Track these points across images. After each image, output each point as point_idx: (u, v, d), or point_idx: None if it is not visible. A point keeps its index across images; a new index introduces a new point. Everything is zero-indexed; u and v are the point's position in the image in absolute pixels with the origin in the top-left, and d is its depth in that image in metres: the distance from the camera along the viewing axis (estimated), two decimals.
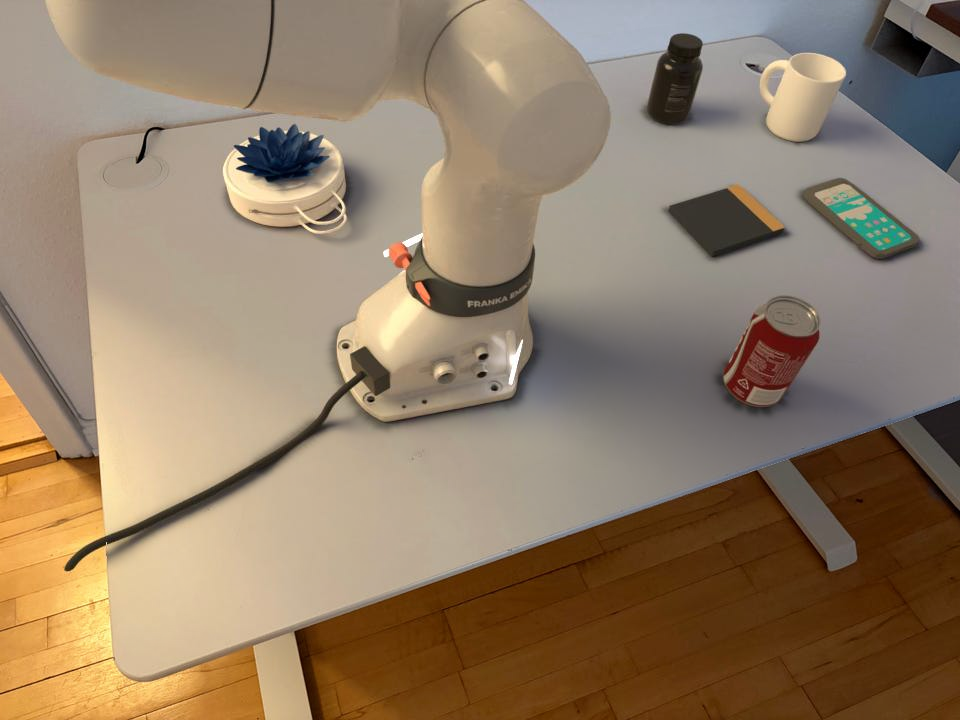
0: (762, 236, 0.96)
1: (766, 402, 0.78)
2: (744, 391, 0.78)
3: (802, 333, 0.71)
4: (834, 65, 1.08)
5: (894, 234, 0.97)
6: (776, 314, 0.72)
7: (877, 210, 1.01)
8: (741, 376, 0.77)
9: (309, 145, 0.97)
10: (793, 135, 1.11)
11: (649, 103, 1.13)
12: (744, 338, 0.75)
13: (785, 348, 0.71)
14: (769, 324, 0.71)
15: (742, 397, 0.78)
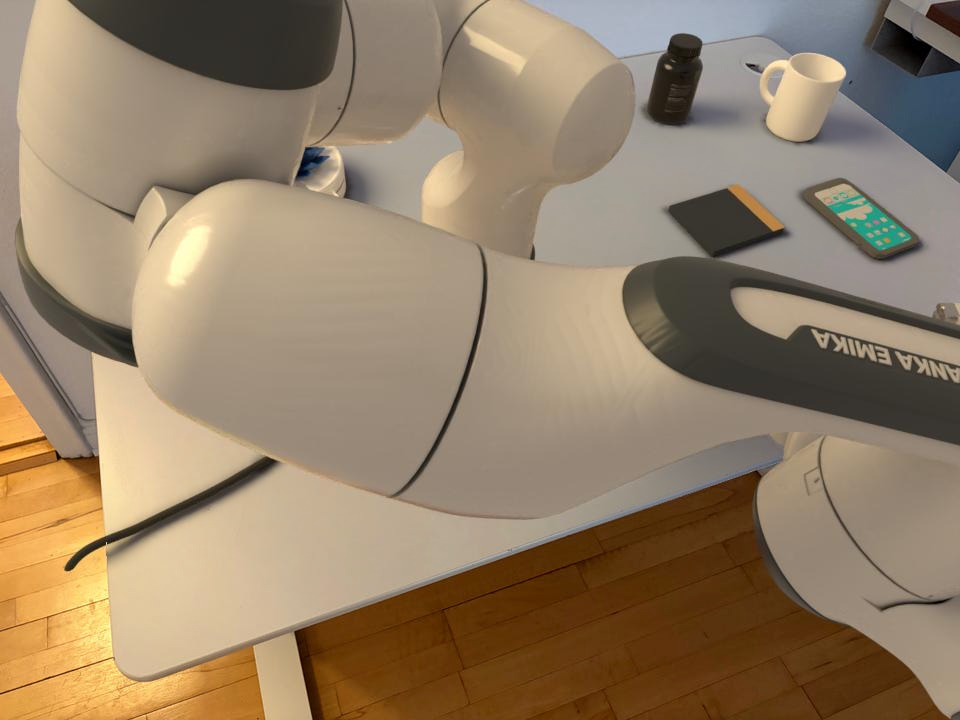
0: (762, 236, 0.96)
1: None
2: None
3: None
4: (834, 65, 1.08)
5: (894, 234, 0.97)
6: None
7: (877, 210, 1.01)
8: None
9: None
10: (793, 135, 1.11)
11: (649, 103, 1.13)
12: None
13: None
14: None
15: None
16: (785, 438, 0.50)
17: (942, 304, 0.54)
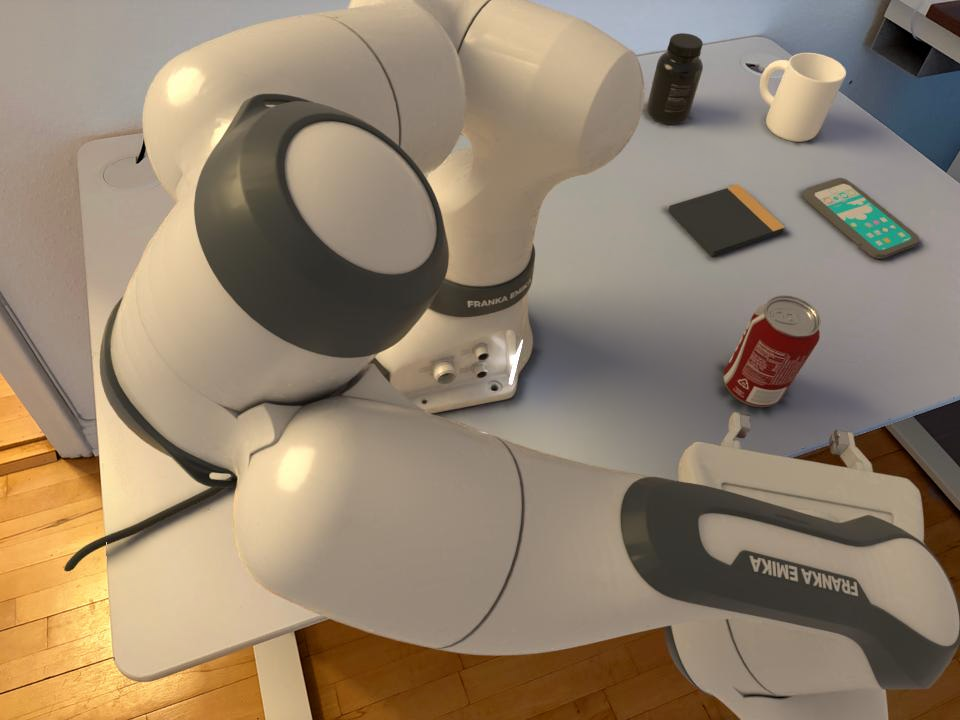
0: (762, 236, 0.96)
1: (766, 402, 0.78)
2: (744, 391, 0.78)
3: (802, 333, 0.71)
4: (834, 65, 1.08)
5: (894, 234, 0.97)
6: (776, 314, 0.72)
7: (877, 210, 1.01)
8: (741, 376, 0.77)
9: None
10: (793, 135, 1.11)
11: (649, 103, 1.13)
12: (744, 338, 0.75)
13: (785, 348, 0.71)
14: (770, 324, 0.71)
15: (742, 397, 0.78)
16: None
17: (838, 432, 0.66)
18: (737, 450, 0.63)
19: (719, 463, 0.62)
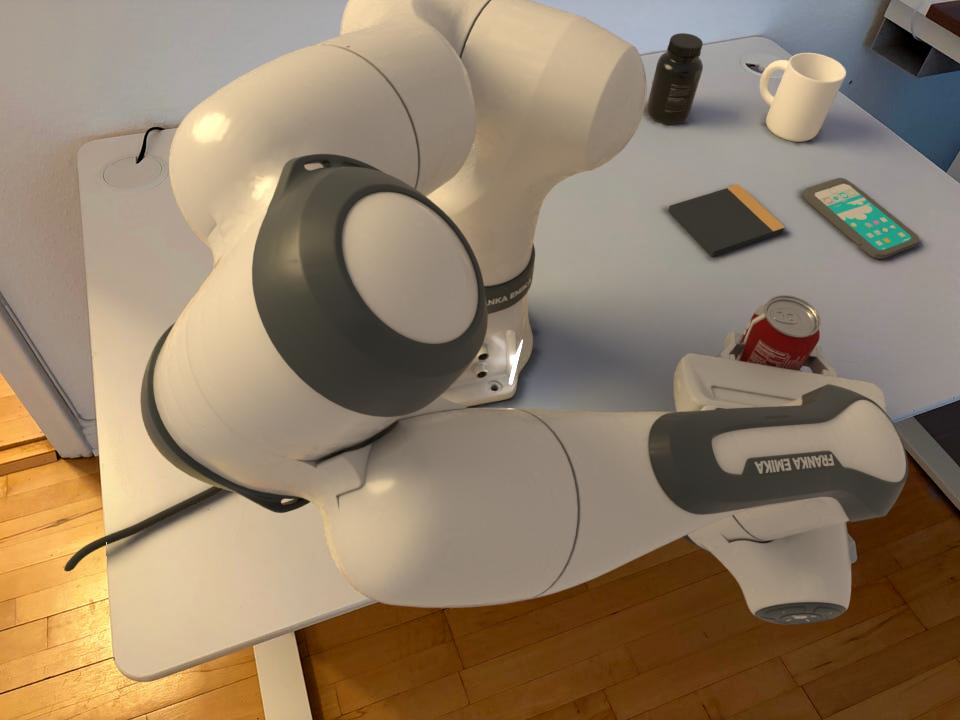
0: (762, 236, 0.96)
1: None
2: None
3: (802, 333, 0.71)
4: (834, 65, 1.08)
5: (894, 234, 0.97)
6: (776, 314, 0.72)
7: (877, 210, 1.01)
8: None
9: None
10: (793, 135, 1.11)
11: (649, 103, 1.13)
12: (744, 338, 0.75)
13: (785, 348, 0.71)
14: (770, 323, 0.71)
15: None
16: None
17: None
18: (725, 360, 0.72)
19: (709, 370, 0.71)
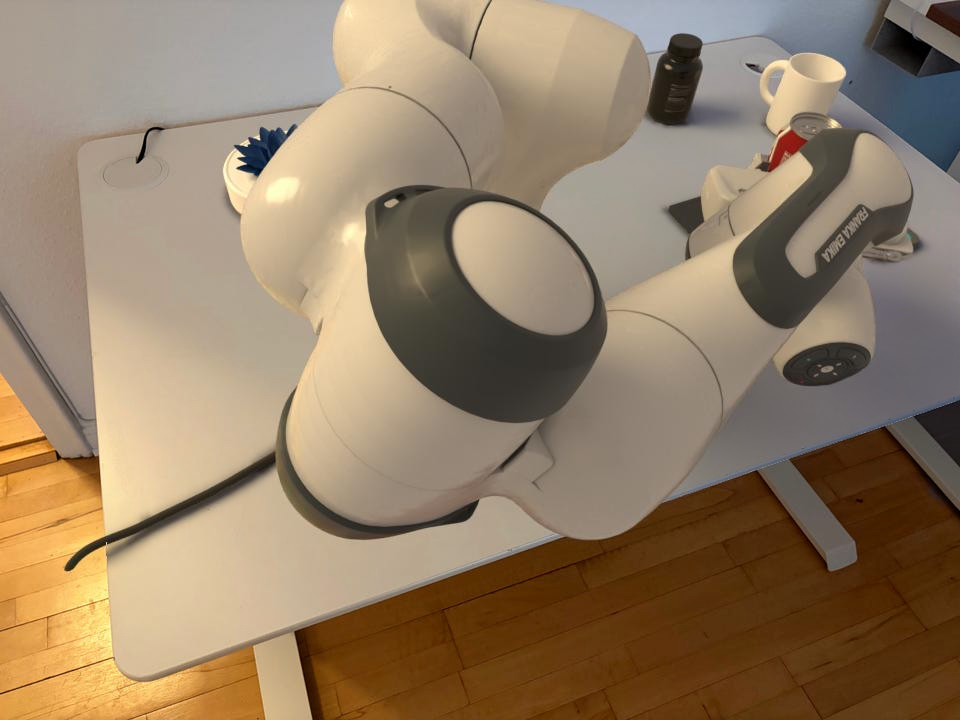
0: None
1: None
2: None
3: None
4: (834, 65, 1.08)
5: None
6: (802, 127, 0.76)
7: None
8: None
9: None
10: None
11: (649, 103, 1.13)
12: (769, 157, 0.78)
13: None
14: (795, 133, 0.74)
15: None
16: None
17: None
18: (751, 170, 0.76)
19: (736, 177, 0.74)
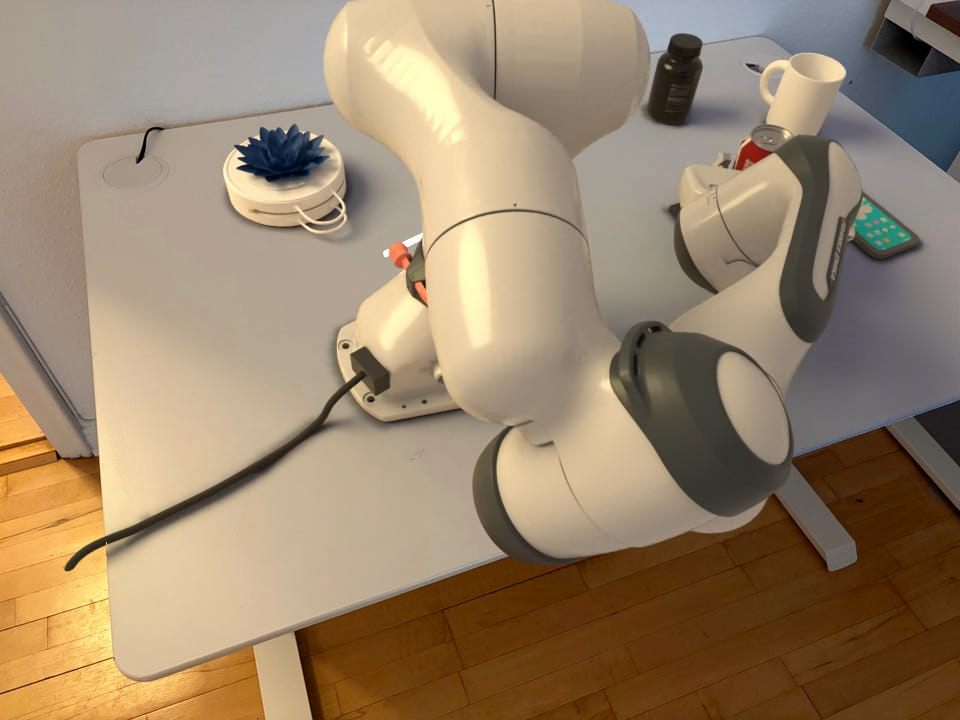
0: None
1: None
2: None
3: None
4: (834, 65, 1.08)
5: (894, 234, 0.97)
6: (760, 138, 0.90)
7: (877, 210, 1.01)
8: None
9: (309, 145, 0.97)
10: None
11: (649, 103, 1.13)
12: (735, 163, 0.93)
13: None
14: (754, 143, 0.89)
15: None
16: None
17: None
18: (721, 168, 0.89)
19: (708, 174, 0.88)
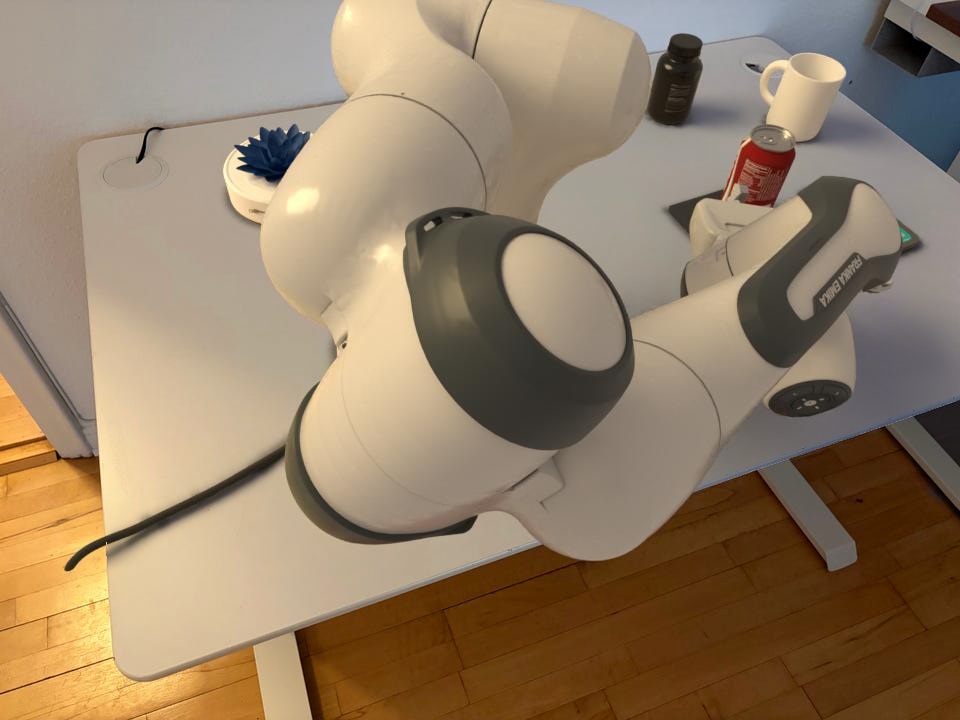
0: None
1: None
2: None
3: (781, 150, 0.88)
4: (834, 65, 1.08)
5: None
6: (760, 138, 0.90)
7: None
8: None
9: None
10: None
11: (649, 103, 1.13)
12: (735, 163, 0.93)
13: (767, 163, 0.89)
14: (754, 143, 0.89)
15: None
16: None
17: None
18: (738, 203, 0.78)
19: (723, 211, 0.77)
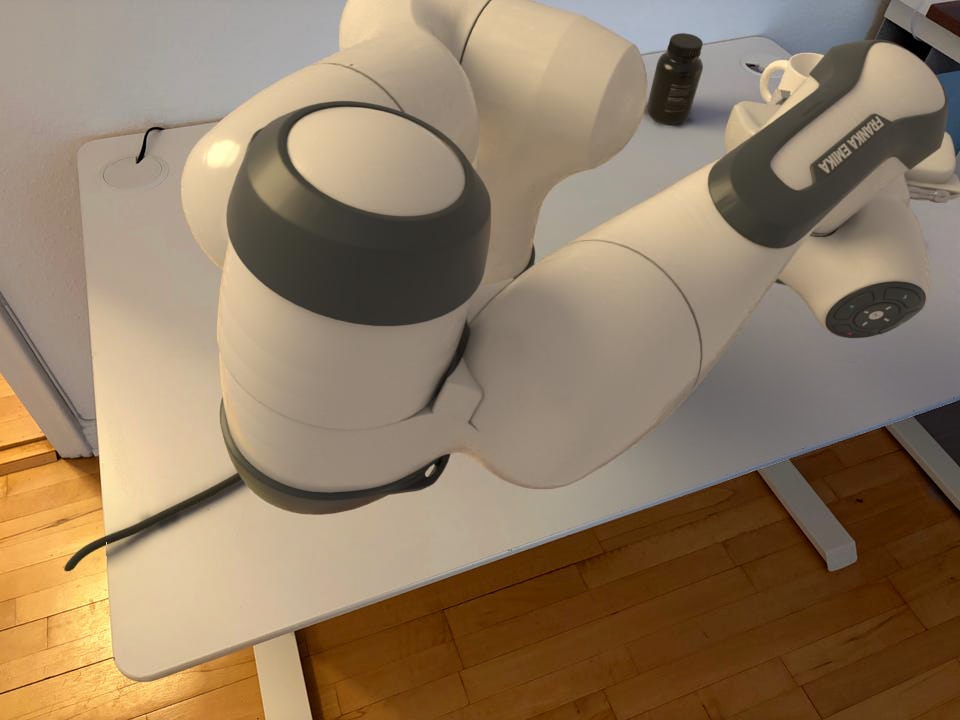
0: None
1: None
2: None
3: None
4: None
5: None
6: None
7: None
8: None
9: None
10: None
11: (649, 103, 1.13)
12: None
13: None
14: None
15: None
16: None
17: None
18: (780, 106, 0.69)
19: (764, 113, 0.67)
